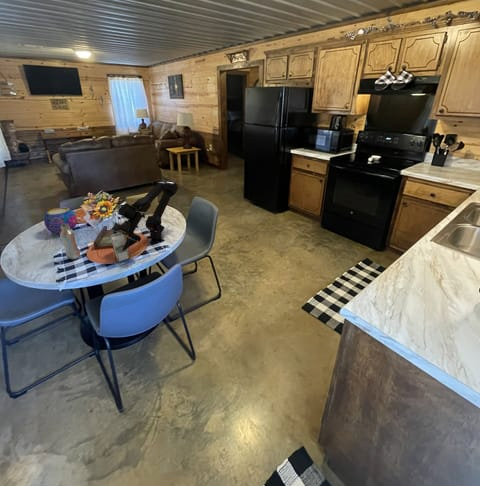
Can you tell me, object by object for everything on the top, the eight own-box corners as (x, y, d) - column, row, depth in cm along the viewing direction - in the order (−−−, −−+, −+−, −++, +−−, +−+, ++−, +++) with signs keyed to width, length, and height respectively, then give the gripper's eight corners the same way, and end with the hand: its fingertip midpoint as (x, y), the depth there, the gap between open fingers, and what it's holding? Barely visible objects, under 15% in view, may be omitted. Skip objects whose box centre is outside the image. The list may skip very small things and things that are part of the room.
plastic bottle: (75, 261, 140) (65, 228, 132) (64, 260, 141) (53, 227, 133) (83, 255, 146) (75, 223, 138) (73, 254, 147) (64, 222, 139)
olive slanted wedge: (131, 229, 174) (130, 223, 173) (124, 246, 154) (122, 239, 153) (105, 231, 172) (104, 225, 170) (95, 249, 152) (93, 242, 150)
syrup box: (126, 254, 147) (121, 231, 141) (129, 258, 142) (124, 235, 136) (116, 257, 144) (109, 234, 138) (118, 262, 139) (112, 239, 133)
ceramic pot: (82, 223, 182) (76, 203, 176) (76, 235, 167) (70, 214, 161) (53, 227, 177) (46, 207, 171) (44, 240, 161) (36, 218, 156)
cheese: (128, 219, 189) (125, 199, 183) (126, 214, 197) (123, 195, 191) (159, 213, 199) (157, 194, 193) (156, 208, 207) (154, 190, 201)
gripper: (111, 211, 142) (95, 238, 137) (132, 220, 132) (116, 248, 128) (127, 219, 151) (112, 244, 146) (147, 228, 141) (133, 255, 137)
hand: (118, 248), depth 139 cm, fingers open, 9 cm apart
